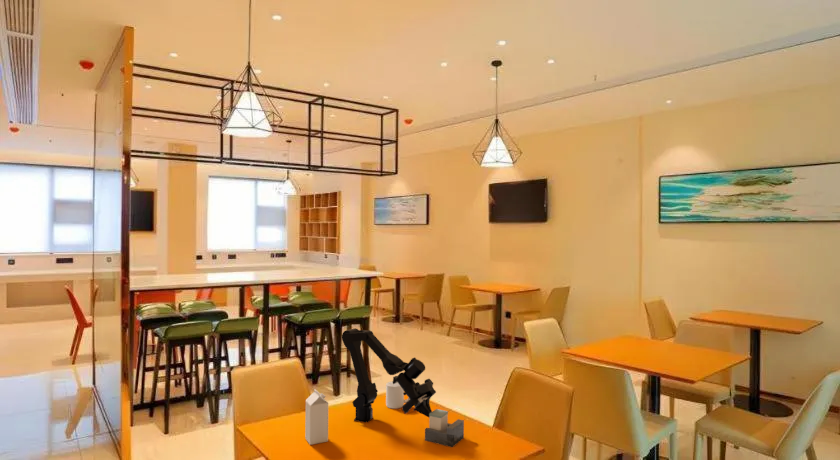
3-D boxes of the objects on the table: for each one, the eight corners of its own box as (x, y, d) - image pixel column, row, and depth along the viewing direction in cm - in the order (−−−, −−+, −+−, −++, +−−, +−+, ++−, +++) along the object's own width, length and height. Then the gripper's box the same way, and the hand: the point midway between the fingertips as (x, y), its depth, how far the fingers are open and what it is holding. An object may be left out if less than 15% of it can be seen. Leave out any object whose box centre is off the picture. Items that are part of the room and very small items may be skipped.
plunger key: (428, 434, 196) (429, 413, 196) (436, 429, 202) (436, 408, 202) (440, 437, 194) (440, 416, 194) (447, 432, 199) (448, 411, 199)
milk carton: (309, 445, 189) (310, 395, 189) (305, 438, 196) (305, 389, 196) (328, 441, 193) (328, 392, 193) (322, 435, 199) (323, 387, 199)
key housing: (424, 440, 195) (425, 422, 195) (436, 431, 204) (437, 414, 204) (452, 447, 189) (452, 428, 189) (463, 438, 198) (463, 420, 198)
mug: (412, 403, 237) (412, 381, 237) (410, 409, 228) (411, 387, 228) (387, 402, 238) (387, 380, 238) (384, 408, 229) (385, 386, 229)
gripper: (409, 379, 194) (433, 413, 188) (432, 368, 210) (455, 399, 204) (391, 396, 198) (415, 430, 192) (415, 384, 214) (438, 414, 208)
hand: (432, 417), depth 199 cm, fingers closed, pressing on plunger key
